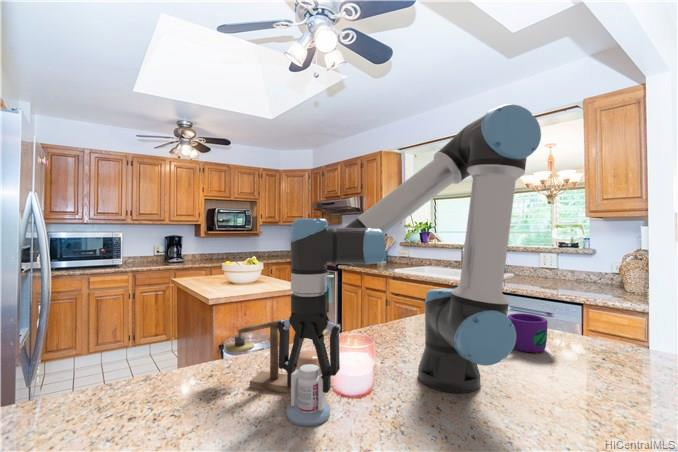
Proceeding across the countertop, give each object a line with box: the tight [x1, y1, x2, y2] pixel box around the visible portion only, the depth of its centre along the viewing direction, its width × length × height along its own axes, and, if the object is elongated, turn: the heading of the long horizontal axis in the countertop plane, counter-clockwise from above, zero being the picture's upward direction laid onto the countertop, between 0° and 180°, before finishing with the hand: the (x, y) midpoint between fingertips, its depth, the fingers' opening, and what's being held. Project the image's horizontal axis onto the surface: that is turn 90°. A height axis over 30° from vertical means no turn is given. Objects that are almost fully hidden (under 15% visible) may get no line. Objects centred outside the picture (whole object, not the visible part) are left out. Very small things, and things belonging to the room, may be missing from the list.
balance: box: [224, 317, 327, 394], centre depth 86 cm, size 26×7×18 cm, turn 73°
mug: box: [507, 312, 548, 354], centre depth 112 cm, size 17×11×10 cm, turn 109°
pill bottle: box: [297, 364, 319, 414], centre depth 73 cm, size 5×5×8 cm
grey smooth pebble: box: [286, 401, 331, 428], centre depth 73 cm, size 9×9×1 cm
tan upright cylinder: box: [295, 350, 322, 377], centre depth 84 cm, size 7×7×8 cm
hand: (308, 404), depth 73 cm, fingers open, 5 cm apart
